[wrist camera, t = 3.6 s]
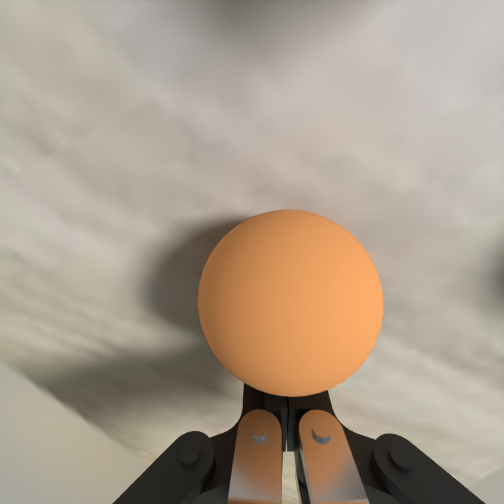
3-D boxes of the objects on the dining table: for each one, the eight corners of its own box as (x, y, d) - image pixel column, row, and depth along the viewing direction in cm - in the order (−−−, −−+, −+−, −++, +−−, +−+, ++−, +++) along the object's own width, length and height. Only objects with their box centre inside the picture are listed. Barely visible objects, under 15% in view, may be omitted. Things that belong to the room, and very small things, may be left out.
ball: (218, 290, 12) (200, 180, 9) (337, 289, 12) (368, 176, 9) (199, 426, 8) (148, 318, 4) (380, 427, 8) (477, 316, 4)
